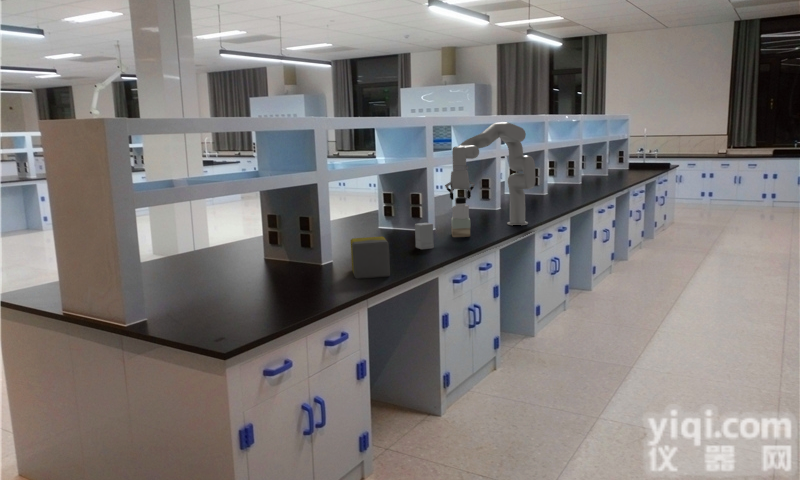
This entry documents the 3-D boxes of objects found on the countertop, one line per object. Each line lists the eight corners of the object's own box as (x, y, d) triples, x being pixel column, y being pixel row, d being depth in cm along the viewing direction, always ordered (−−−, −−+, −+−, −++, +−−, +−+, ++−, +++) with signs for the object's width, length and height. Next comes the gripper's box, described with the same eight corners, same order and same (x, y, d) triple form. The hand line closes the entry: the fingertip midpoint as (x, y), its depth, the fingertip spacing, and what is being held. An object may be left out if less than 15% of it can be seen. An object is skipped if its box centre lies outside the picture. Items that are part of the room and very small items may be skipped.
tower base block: (451, 234, 355) (451, 225, 354) (468, 233, 354) (468, 225, 354) (452, 237, 345) (452, 228, 344) (470, 236, 345) (470, 228, 344)
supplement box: (434, 248, 316) (433, 224, 313) (421, 249, 313) (420, 225, 311) (428, 245, 322) (427, 222, 320) (415, 247, 320) (414, 223, 317)
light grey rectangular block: (469, 217, 349) (468, 196, 347) (464, 219, 343) (463, 198, 341) (457, 216, 353) (457, 196, 351) (452, 218, 347) (451, 197, 344)
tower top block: (451, 225, 354) (451, 217, 353) (468, 225, 354) (468, 216, 353) (452, 228, 344) (452, 220, 343) (470, 228, 344) (470, 219, 343)
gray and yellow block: (383, 264, 282) (381, 232, 279) (390, 276, 258) (388, 241, 256) (350, 267, 280) (348, 234, 277) (355, 279, 256) (353, 244, 253)
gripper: (472, 167, 348) (473, 197, 351) (442, 169, 345) (443, 199, 348) (476, 168, 341) (477, 198, 344) (446, 169, 338) (447, 200, 341)
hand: (460, 198), depth 346 cm, fingers open, 9 cm apart
